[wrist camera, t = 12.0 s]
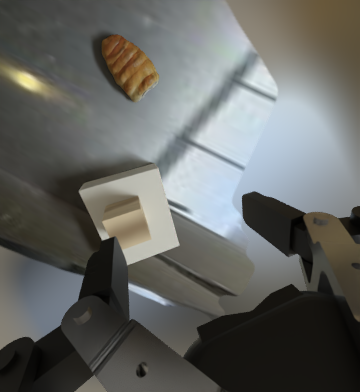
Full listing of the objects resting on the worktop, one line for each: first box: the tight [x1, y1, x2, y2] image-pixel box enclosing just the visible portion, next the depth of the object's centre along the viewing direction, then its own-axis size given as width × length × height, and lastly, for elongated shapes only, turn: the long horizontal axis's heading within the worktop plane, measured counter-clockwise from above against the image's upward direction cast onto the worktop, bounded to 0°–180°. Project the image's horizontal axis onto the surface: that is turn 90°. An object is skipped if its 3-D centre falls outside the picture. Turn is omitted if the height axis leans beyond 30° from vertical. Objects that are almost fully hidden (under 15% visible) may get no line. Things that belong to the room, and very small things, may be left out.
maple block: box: [102, 196, 152, 250], centre depth 32 cm, size 6×6×6 cm
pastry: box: [102, 35, 159, 102], centre depth 29 cm, size 9×7×4 cm
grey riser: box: [79, 163, 179, 265], centre depth 37 cm, size 18×14×5 cm
